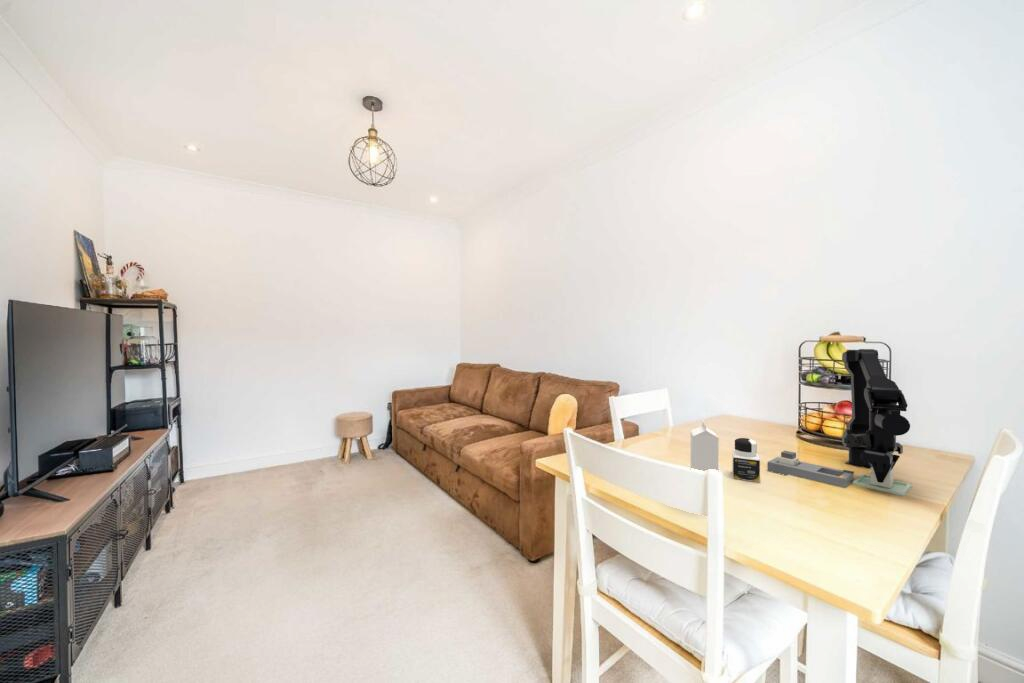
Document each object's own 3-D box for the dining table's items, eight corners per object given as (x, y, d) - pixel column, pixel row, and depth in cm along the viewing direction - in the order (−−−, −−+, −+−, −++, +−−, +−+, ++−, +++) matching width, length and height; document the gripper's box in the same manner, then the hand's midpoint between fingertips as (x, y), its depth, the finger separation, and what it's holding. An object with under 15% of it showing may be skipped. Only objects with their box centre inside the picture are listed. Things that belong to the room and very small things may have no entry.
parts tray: (862, 477, 123) (862, 473, 123) (911, 488, 114) (911, 484, 114) (852, 485, 117) (852, 481, 116) (904, 497, 108) (904, 493, 108)
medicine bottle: (733, 479, 123) (733, 440, 123) (732, 471, 129) (732, 435, 129) (759, 482, 119) (760, 443, 119) (757, 475, 126) (757, 438, 126)
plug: (874, 480, 118) (874, 459, 118) (893, 484, 115) (893, 463, 115) (870, 483, 116) (870, 462, 116) (890, 488, 112) (890, 466, 112)
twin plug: (783, 468, 132) (783, 449, 132) (798, 472, 128) (798, 452, 128) (778, 471, 129) (778, 452, 129) (793, 475, 126) (793, 455, 126)
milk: (693, 507, 103) (692, 424, 102) (690, 498, 109) (689, 419, 108) (719, 510, 101) (718, 425, 100) (714, 501, 107) (714, 420, 106)
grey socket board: (778, 465, 135) (778, 455, 135) (854, 482, 119) (854, 471, 119) (767, 470, 130) (767, 460, 130) (845, 489, 113) (845, 478, 113)
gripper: (855, 418, 127) (855, 466, 127) (838, 427, 116) (837, 479, 116) (903, 424, 118) (902, 476, 119) (889, 434, 107) (889, 491, 107)
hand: (881, 480), depth 115 cm, fingers closed on plug, 4 cm apart
